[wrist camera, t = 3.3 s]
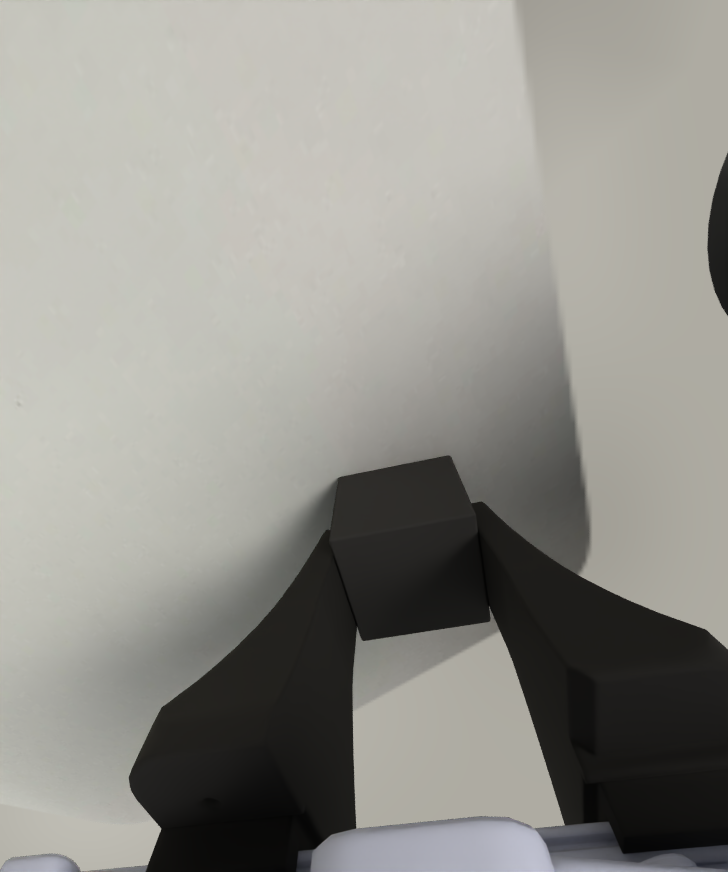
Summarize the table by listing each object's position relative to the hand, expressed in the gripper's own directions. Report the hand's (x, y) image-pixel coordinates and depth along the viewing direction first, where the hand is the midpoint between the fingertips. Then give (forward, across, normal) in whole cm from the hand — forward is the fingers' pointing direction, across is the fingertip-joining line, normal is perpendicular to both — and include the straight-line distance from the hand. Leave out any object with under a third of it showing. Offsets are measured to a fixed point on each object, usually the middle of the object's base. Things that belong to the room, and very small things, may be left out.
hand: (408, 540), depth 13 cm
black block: (+2, 0, 0) cm, 2 cm away
